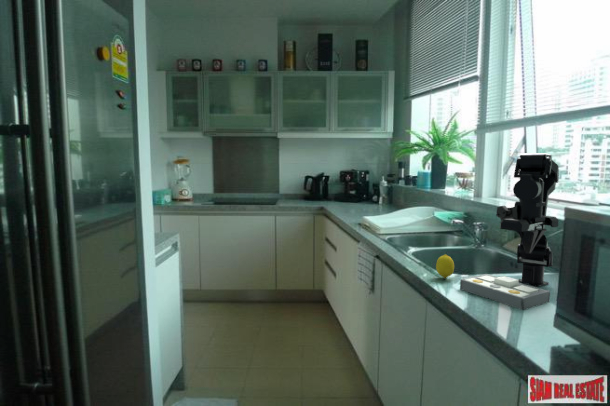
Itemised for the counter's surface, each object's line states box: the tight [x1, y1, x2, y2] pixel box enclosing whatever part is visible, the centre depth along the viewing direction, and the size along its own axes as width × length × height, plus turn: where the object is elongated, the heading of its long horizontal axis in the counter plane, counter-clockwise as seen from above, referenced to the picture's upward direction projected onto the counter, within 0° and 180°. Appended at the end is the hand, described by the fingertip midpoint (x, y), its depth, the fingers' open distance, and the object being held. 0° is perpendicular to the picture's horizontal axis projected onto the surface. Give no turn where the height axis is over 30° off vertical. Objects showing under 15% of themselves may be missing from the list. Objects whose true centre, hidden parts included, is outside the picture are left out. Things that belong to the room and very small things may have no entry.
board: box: [459, 273, 551, 311], centre depth 107 cm, size 12×19×3 cm, turn 29°
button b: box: [494, 275, 520, 288], centre depth 107 cm, size 4×4×2 cm
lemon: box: [435, 253, 455, 279], centre depth 123 cm, size 6×6×8 cm
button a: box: [477, 276, 494, 283], centre depth 112 cm, size 4×4×2 cm
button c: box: [513, 285, 538, 294], centre depth 103 cm, size 4×4×2 cm
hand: (528, 253), depth 107 cm, fingers closed
